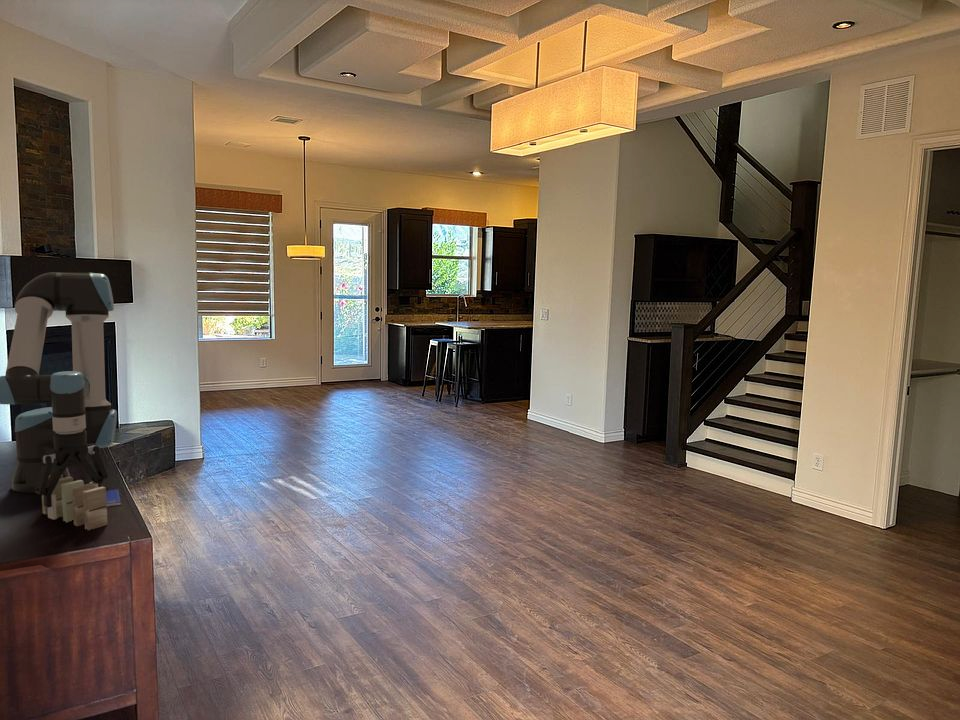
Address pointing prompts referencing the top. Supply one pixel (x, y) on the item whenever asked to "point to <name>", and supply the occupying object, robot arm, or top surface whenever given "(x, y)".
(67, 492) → the domino
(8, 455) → the top surface
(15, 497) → the top surface
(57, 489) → the domino
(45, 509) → the domino
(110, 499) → the hard drive
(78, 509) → the domino
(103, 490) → the domino
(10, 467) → the top surface
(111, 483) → the top surface
